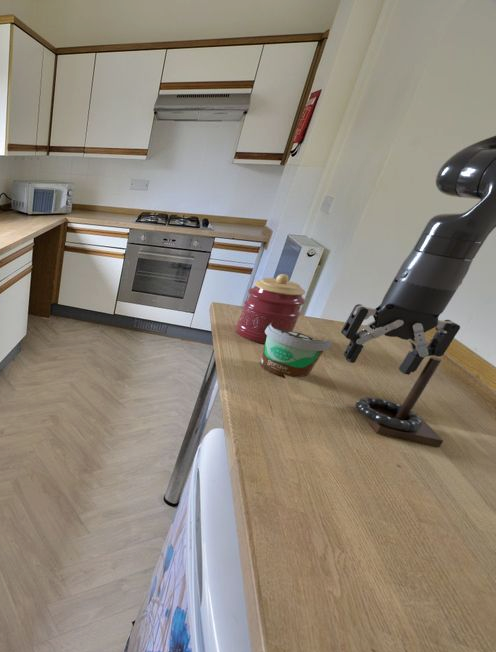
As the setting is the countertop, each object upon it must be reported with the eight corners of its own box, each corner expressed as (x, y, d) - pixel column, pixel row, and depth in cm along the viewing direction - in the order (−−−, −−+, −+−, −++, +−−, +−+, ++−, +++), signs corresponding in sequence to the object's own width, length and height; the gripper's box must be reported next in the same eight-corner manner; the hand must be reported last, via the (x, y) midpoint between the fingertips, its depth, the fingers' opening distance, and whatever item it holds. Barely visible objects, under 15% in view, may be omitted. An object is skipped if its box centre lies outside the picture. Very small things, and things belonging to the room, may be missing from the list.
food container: (246, 367, 96) (261, 328, 92) (254, 359, 100) (268, 321, 96) (309, 389, 88) (328, 347, 84) (315, 379, 92) (333, 339, 88)
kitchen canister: (263, 348, 106) (288, 282, 98) (224, 328, 117) (243, 268, 109) (300, 343, 110) (327, 280, 102) (259, 324, 121) (280, 266, 113)
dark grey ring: (404, 410, 79) (409, 403, 79) (429, 438, 72) (435, 430, 71) (347, 398, 82) (351, 391, 82) (365, 423, 75) (369, 415, 74)
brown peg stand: (413, 419, 79) (454, 353, 73) (439, 447, 72) (487, 376, 66) (357, 407, 82) (391, 343, 76) (376, 433, 75) (416, 364, 68)
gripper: (467, 283, 68) (413, 367, 76) (364, 267, 73) (323, 348, 80) (498, 296, 62) (436, 387, 69) (383, 278, 66) (336, 365, 74)
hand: (375, 366), depth 75 cm, fingers open, 7 cm apart
